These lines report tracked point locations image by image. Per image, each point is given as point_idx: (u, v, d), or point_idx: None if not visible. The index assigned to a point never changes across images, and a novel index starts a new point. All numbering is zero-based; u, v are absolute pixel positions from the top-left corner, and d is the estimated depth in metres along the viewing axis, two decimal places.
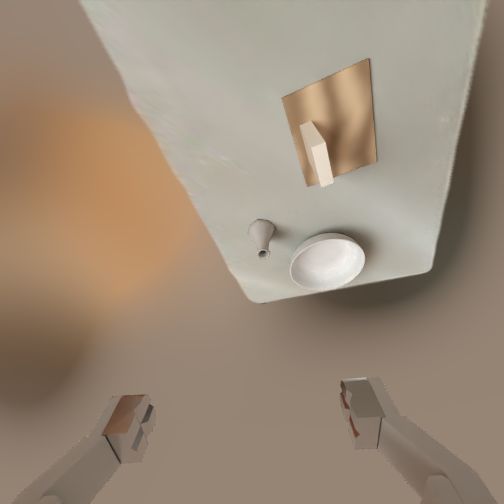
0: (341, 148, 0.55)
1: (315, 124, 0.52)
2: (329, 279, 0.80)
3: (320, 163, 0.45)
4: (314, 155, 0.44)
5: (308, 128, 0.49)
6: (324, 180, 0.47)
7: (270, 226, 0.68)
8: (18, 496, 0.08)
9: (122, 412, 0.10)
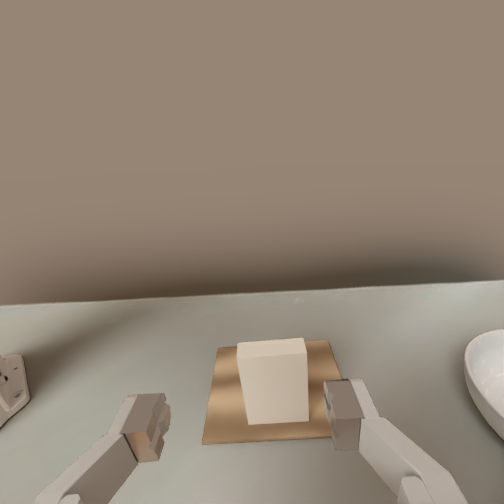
0: None
1: None
2: None
3: (265, 350, 0.30)
4: (249, 355, 0.29)
5: None
6: (295, 348, 0.30)
7: None
8: (40, 495, 0.07)
9: (139, 411, 0.10)
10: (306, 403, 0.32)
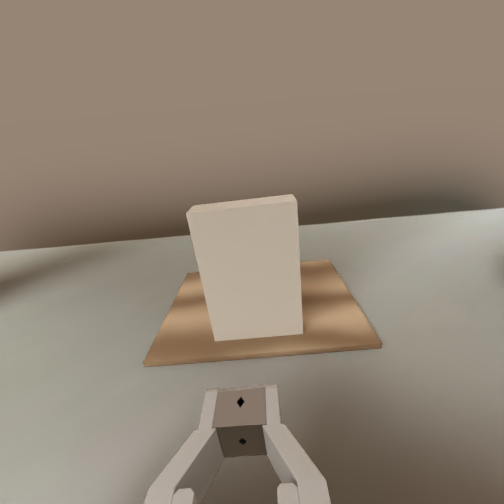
0: None
1: None
2: None
3: (233, 205, 0.19)
4: (206, 210, 0.19)
5: None
6: (279, 200, 0.19)
7: None
8: (150, 489, 0.07)
9: (225, 405, 0.10)
10: (298, 301, 0.21)
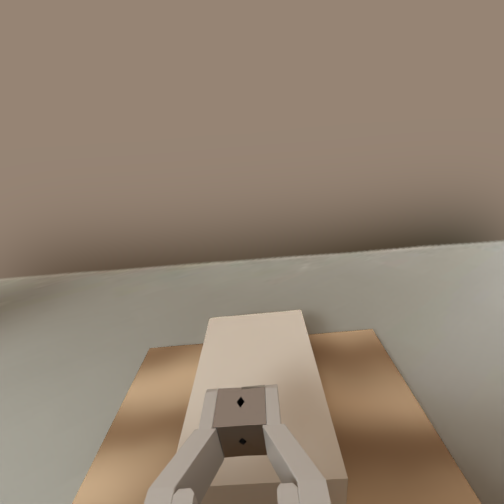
0: None
1: None
2: None
3: None
4: None
5: None
6: None
7: None
8: (150, 489, 0.07)
9: (225, 405, 0.10)
10: (322, 402, 0.14)
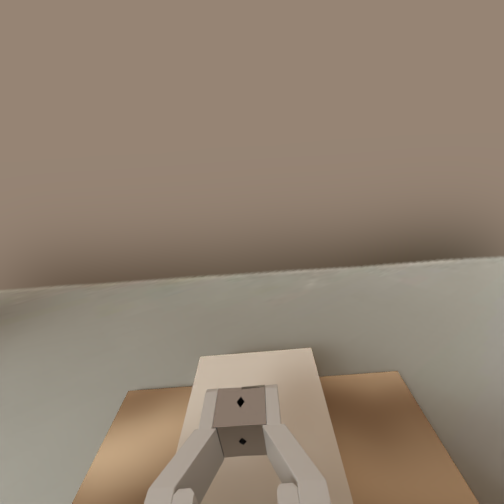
0: None
1: None
2: None
3: None
4: None
5: None
6: None
7: None
8: (150, 489, 0.07)
9: (225, 405, 0.10)
10: None
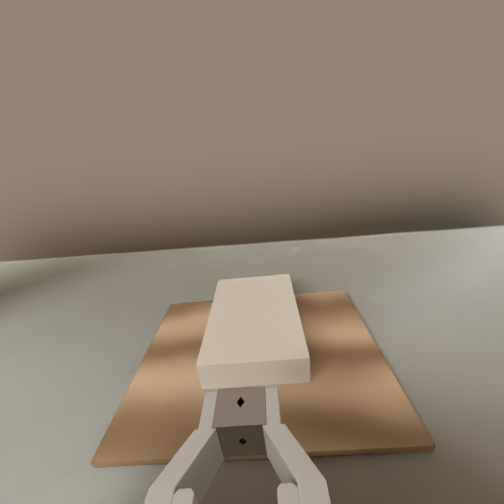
0: None
1: None
2: None
3: None
4: None
5: None
6: None
7: None
8: (150, 489, 0.07)
9: (225, 405, 0.10)
10: (298, 324, 0.21)
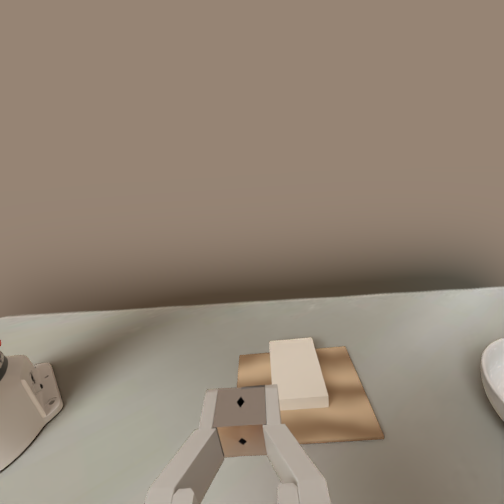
0: None
1: None
2: None
3: None
4: (277, 341, 0.48)
5: None
6: None
7: None
8: (150, 489, 0.07)
9: (225, 405, 0.10)
10: (321, 375, 0.40)
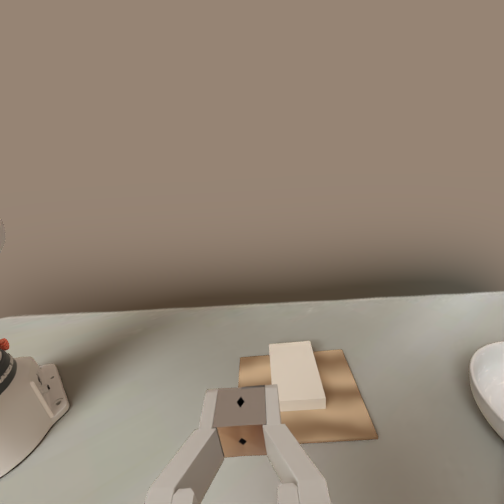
0: None
1: None
2: None
3: None
4: (276, 344, 0.50)
5: None
6: None
7: None
8: (150, 489, 0.07)
9: (225, 405, 0.10)
10: (318, 378, 0.42)
